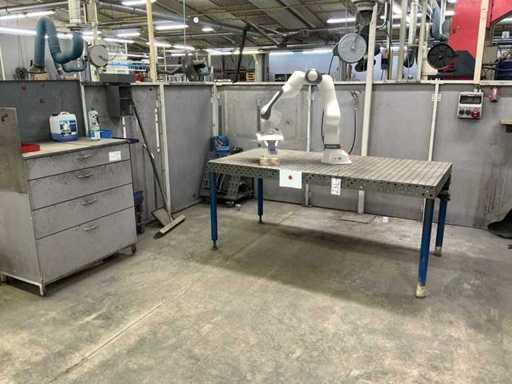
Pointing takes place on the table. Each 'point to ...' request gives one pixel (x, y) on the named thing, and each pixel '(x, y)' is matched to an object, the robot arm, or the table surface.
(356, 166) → the table surface
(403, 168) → the table surface
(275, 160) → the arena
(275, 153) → the bracket
